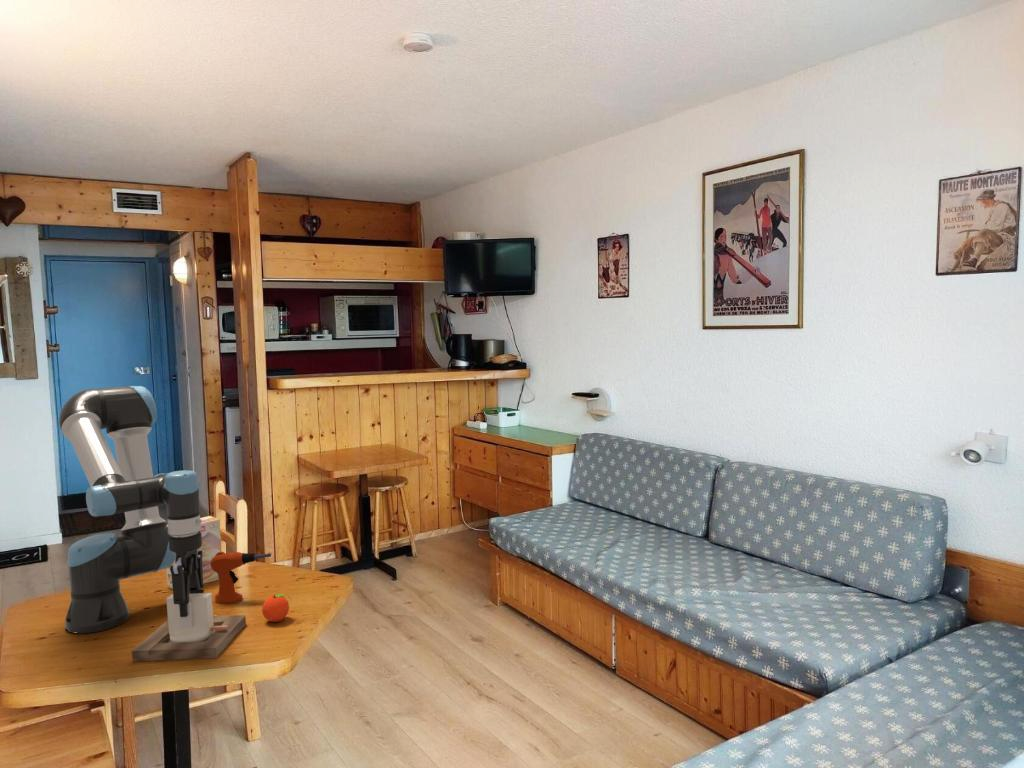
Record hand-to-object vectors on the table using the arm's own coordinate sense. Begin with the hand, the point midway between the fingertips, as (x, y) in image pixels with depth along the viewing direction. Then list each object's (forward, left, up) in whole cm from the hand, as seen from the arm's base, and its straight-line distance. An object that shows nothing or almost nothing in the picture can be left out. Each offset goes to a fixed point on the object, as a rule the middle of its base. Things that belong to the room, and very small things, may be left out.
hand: (191, 623), depth 182 cm
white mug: (+2, 0, -4) cm, 4 cm away
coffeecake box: (-18, +45, -5) cm, 49 cm away
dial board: (0, 0, -5) cm, 5 cm away
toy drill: (+3, +28, -5) cm, 29 cm away
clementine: (+18, +12, -5) cm, 22 cm away
